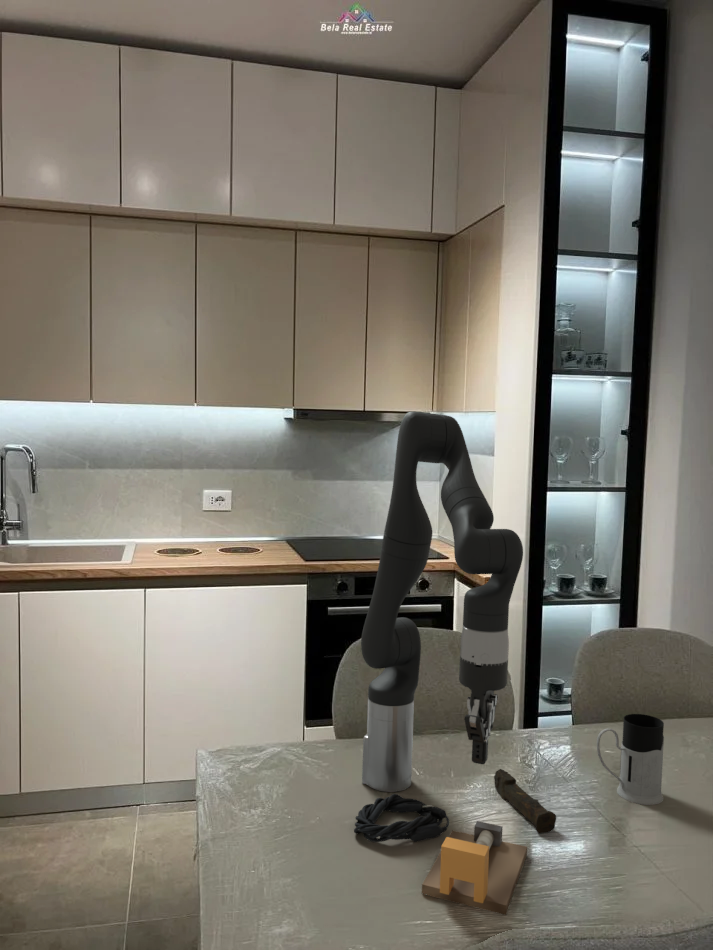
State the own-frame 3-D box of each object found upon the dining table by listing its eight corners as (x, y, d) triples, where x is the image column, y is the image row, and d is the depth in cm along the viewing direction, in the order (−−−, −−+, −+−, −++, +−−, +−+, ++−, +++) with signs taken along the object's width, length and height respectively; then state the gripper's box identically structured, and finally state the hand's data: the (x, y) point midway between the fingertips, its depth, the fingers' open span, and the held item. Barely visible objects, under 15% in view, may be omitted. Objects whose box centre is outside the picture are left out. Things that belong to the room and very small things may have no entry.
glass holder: (672, 803, 155) (676, 727, 154) (606, 808, 152) (609, 731, 151) (647, 783, 163) (650, 711, 162) (583, 787, 160) (587, 715, 159)
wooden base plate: (421, 893, 122) (422, 867, 122) (452, 838, 139) (452, 815, 138) (505, 915, 117) (507, 888, 117) (526, 855, 134) (527, 831, 134)
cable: (369, 857, 133) (370, 832, 132) (335, 818, 145) (336, 795, 145) (456, 837, 140) (457, 813, 140) (417, 802, 153) (418, 780, 152)
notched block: (439, 892, 119) (441, 846, 119) (445, 882, 122) (446, 836, 122) (482, 903, 117) (484, 856, 116) (487, 892, 120) (489, 846, 119)
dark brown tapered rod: (556, 833, 142) (558, 808, 142) (536, 836, 141) (538, 810, 141) (507, 786, 160) (508, 764, 160) (489, 788, 159) (490, 766, 159)
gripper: (470, 641, 132) (466, 742, 134) (449, 662, 120) (445, 773, 121) (515, 647, 130) (511, 750, 131) (498, 669, 117) (493, 783, 119)
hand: (479, 761), depth 126 cm, fingers closed
